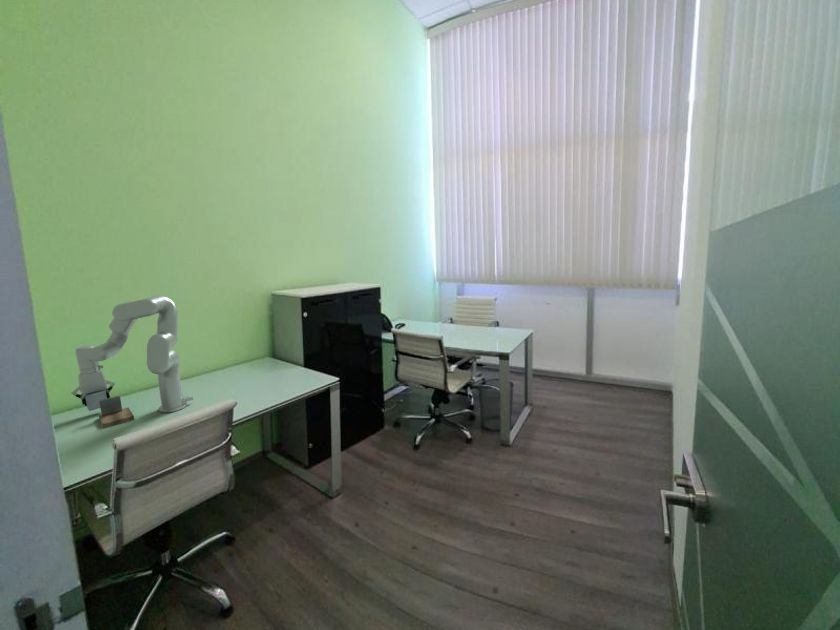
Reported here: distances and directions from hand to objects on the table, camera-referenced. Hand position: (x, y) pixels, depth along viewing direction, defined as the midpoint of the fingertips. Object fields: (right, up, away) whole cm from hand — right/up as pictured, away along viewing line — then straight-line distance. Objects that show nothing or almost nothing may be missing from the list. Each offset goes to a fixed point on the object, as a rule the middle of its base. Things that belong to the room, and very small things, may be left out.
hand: (96, 402), depth 192 cm
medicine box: (0, -3, +1) cm, 3 cm away
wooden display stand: (+14, -7, -5) cm, 17 cm away
